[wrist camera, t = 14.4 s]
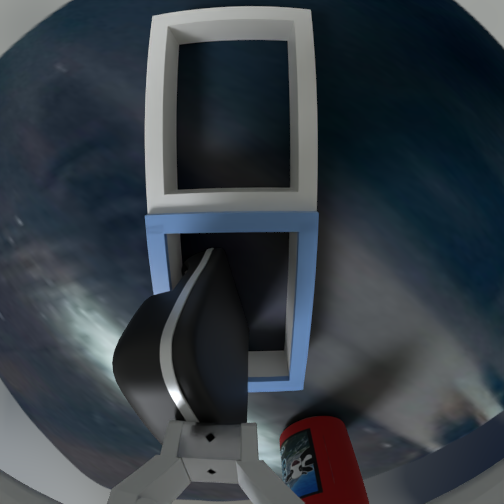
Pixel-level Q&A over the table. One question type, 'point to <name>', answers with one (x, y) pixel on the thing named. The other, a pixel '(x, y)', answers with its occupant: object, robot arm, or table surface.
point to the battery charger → (187, 350)
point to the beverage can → (321, 462)
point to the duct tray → (237, 199)
